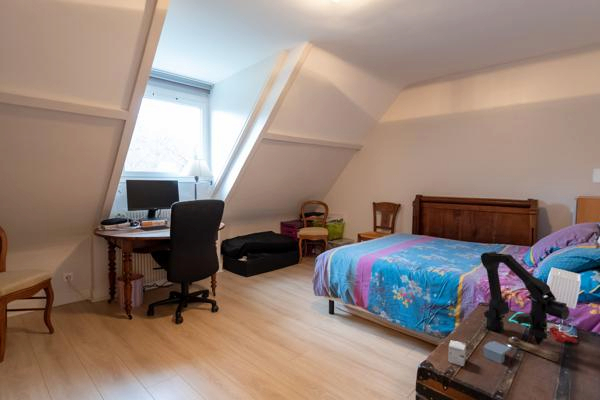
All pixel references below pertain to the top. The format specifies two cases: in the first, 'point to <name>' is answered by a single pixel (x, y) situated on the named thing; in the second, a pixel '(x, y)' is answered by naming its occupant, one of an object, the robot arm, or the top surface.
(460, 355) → the skincare box
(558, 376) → the top surface
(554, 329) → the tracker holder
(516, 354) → the top surface
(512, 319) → the handheld game console
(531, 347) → the link
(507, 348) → the block
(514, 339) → the pintle
